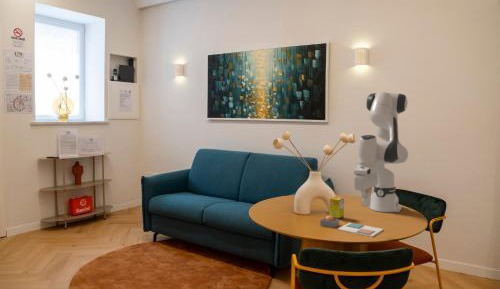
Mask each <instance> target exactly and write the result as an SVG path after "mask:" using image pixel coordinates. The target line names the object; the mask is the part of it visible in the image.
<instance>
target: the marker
mask: <svg viewBox="0 0 500 289" xmlns="http://www.w3.org/2000/svg"><path fill="white" fill-rule="evenodd" d="M366 195H367V196H366V198H365V199H364V198H362V197H361V206H362V207H364V208H365V207H367V208H369V206H370V204H371V195H372V192H371V188H369V189H366Z"/></svg>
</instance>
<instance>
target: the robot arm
mask: <svg viewBox="0 0 500 289" xmlns="http://www.w3.org/2000/svg"><path fill="white" fill-rule="evenodd" d="M408 102H409V101H408V98H407V96H406V95H405V94H402V93H394V92H385V91H382V92H379V93H377V92H375V93H373V92H372V93H370V94H368V95H367V97H366V100H365V105H366V109H367V110H368V111H369V120H370V121H371V122H372V124H373V125H375V126H376V135H377V136H375V135H372V134H365V135H362V136H360V138H359V140H358V147H357V150H358V151H357V152H358V153H357V154H358V160H357V166H356V167H355V168H354V169H353V174H354V177H353V178H354V179H353V180H354V181H353V182H354V183H353V184H354V185H353V186H354V190H355V191H358V192H359V191H360V193H361V199H362V198H364V199H365V198H366V196H367V195H366V189H369V188H371V202H370V206H369V207H368V208H369V209H371V210H372V211H376V212H379V213H380V212H381V213H400V211H401V210H402V208H403V205H401V204H399V197H398V195H397V194H396V188H397V186H395V173H394V172H393V171H391V170H390V169H388V168H386V167H385V165H386V164H388V165H389V164H392V165H395V164H396V165H398V164H403V163H405V162H406V161H408V158H409V151H408V150H407V148H406V147H405V146H404V145H403V144H402V143H401V142H400V141H399V127H398V126H399V125H398V119H399V118H398V115H400V114H402V113H404V112H405V111H406V109H407V108H408V104H409V103H408ZM377 137H378V138H379V139H381V140H383V141H378V140H377ZM372 191H373V193H372Z"/></svg>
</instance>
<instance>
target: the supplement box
mask: <svg viewBox="0 0 500 289" xmlns="http://www.w3.org/2000/svg"><path fill="white" fill-rule="evenodd" d="M344 209H345V198H344V197H338V196H333V197H331V198H329V216H333V217H334V218H335V219H339V220H340V219H343V218H344V214H345V213H344V212H345V210H344Z"/></svg>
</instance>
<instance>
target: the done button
mask: <svg viewBox="0 0 500 289" xmlns="http://www.w3.org/2000/svg"><path fill="white" fill-rule="evenodd" d="M325 218H326V220H328V221H334V217H333V216H330V215H326V216H325Z"/></svg>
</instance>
